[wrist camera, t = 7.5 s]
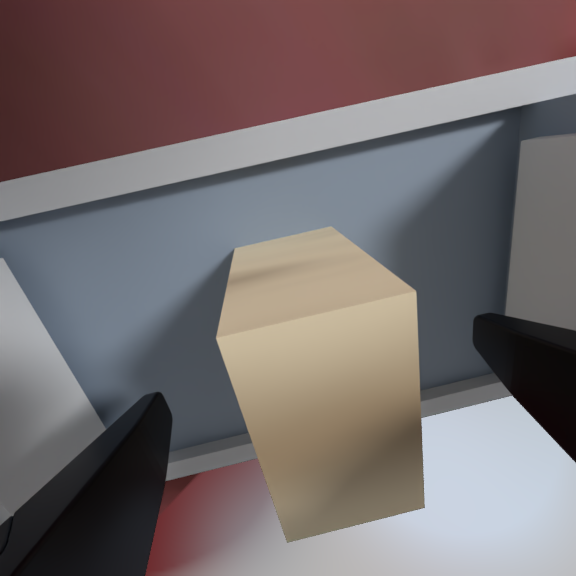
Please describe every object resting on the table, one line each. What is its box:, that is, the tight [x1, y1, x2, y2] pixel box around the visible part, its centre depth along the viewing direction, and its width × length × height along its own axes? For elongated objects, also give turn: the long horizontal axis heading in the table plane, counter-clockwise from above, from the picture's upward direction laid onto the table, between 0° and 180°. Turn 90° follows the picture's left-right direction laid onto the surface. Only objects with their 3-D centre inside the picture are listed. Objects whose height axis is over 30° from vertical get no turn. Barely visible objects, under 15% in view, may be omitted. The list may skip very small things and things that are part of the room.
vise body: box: [0, 56, 576, 481], centre depth 10 cm, size 13×26×6 cm, turn 102°
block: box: [216, 226, 425, 542], centre depth 9 cm, size 6×4×6 cm, turn 12°
